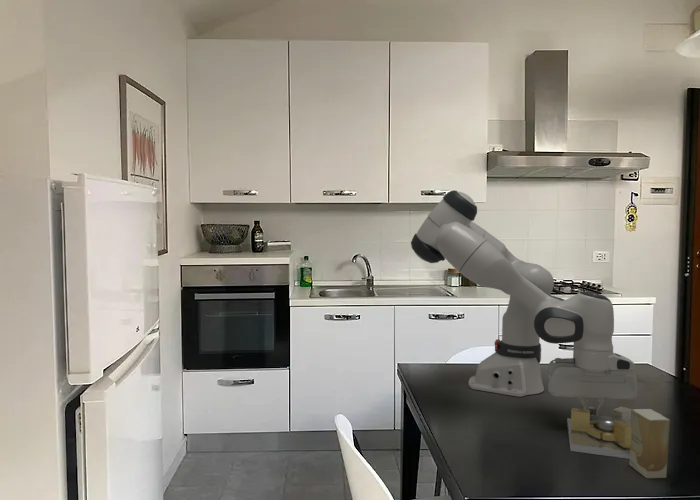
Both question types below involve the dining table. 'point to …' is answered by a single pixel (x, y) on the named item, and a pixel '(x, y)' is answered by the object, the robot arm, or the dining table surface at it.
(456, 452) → the dining table surface
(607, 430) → the housing
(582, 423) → the ring nut
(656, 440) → the skincare box
